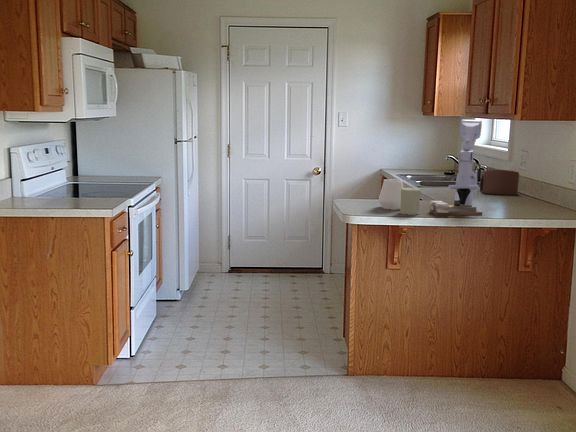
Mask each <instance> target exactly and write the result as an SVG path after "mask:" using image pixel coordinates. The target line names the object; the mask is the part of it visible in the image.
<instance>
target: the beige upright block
mask: <svg viewBox="0 0 576 432" xmlns="http://www.w3.org/2000/svg"><path fill="white" fill-rule="evenodd" d="M420 198H421V189H420V188H417V187H403V188H401V203H400V209H399V214H401V215H406V214H408V215H409V216H415V215H416V214H417V215H420V203H421V201H420V200H421V199H420ZM408 215H407V216H408ZM417 215H416V216H417Z"/></svg>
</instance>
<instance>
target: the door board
mask: <svg viewBox="0 0 576 432" xmlns="http://www.w3.org/2000/svg"><path fill="white" fill-rule="evenodd" d="M429 204H430V205H429V212H430V213H432V214H433V215H435V216H437V217H441V216H442V217H446V216H447V217H448V216H449V217H451V216H452V217H454V216H456V217H458V216H459V217H460V216H462V215H468V216H483V212H482V211H481V210H478V209H477V206H473V204H472V205H460V206H461V207H449V205H450V204H449V203H448V202H445V201H443V200H430V203H429Z"/></svg>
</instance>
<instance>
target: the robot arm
mask: <svg viewBox="0 0 576 432" xmlns="http://www.w3.org/2000/svg"><path fill="white" fill-rule="evenodd" d="M482 124H483V123H482V120H481V119H461V121H460V136H461V138H463V140H462V142H461V146H460V151H458V158H457V160H458V172H457V174H456V177H455V178H456V179H455V184H448V187H447V188H448V190H456V192H455V194H454V200H460V201H461V204H460V205H472V206H473V201H474V199H473V198H474V191H476V190H480V184H478V176H477V173H476V172H474V171H473V164H474V152H475V143H476V142H477V141H476V140H478V139H480V138H481V134H482V133H481V132H482V126H483V125H482Z"/></svg>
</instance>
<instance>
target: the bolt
mask: <svg viewBox="0 0 576 432" xmlns="http://www.w3.org/2000/svg"><path fill="white" fill-rule="evenodd" d="M460 204H461V201H460V200H455V199H454V200H453V204H452V205H451V204H449V207H461V206H460Z"/></svg>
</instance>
